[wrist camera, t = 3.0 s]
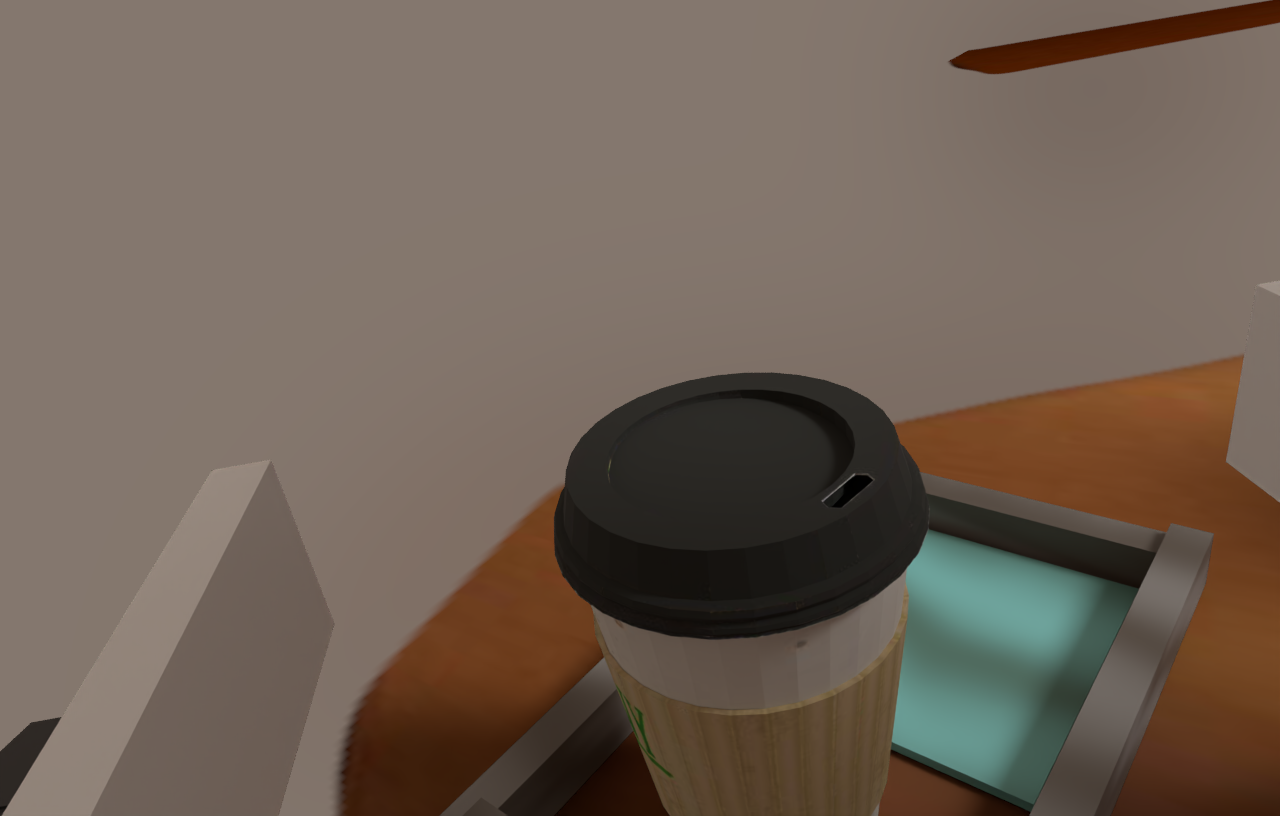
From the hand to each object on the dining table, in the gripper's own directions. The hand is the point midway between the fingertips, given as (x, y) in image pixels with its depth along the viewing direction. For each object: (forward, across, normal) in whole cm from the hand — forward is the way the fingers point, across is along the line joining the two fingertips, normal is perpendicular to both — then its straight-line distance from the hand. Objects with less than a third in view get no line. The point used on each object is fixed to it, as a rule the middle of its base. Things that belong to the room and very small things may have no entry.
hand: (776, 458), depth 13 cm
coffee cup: (+10, +1, -21) cm, 23 cm away
